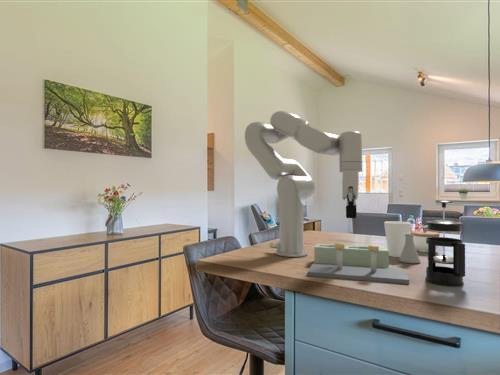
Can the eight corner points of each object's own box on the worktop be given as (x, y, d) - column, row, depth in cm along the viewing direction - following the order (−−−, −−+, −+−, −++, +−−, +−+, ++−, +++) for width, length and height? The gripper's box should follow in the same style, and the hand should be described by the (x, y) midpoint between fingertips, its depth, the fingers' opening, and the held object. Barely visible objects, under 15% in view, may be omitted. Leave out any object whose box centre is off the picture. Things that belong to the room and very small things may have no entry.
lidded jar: (445, 253, 133) (445, 230, 133) (418, 253, 134) (418, 230, 134) (430, 248, 144) (430, 227, 144) (406, 248, 144) (406, 227, 144)
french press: (416, 277, 98) (416, 200, 98) (443, 275, 100) (443, 199, 100) (447, 289, 87) (447, 201, 87) (477, 287, 88) (477, 201, 88)
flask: (423, 264, 115) (423, 235, 115) (401, 263, 116) (401, 235, 116) (417, 260, 122) (417, 232, 122) (396, 259, 123) (396, 232, 123)
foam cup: (414, 255, 129) (414, 222, 129) (406, 259, 123) (406, 224, 123) (389, 252, 136) (389, 220, 136) (380, 255, 129) (380, 222, 129)
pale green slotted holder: (314, 264, 115) (314, 246, 115) (316, 259, 122) (316, 243, 122) (388, 269, 108) (388, 251, 108) (387, 264, 114) (387, 247, 114)
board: (307, 275, 100) (307, 246, 100) (313, 266, 112) (313, 239, 112) (409, 284, 91) (409, 251, 91) (403, 272, 104) (403, 243, 104)
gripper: (340, 169, 124) (341, 214, 124) (338, 166, 108) (338, 218, 107) (361, 168, 122) (362, 215, 122) (362, 165, 105) (363, 219, 105)
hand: (351, 216), depth 115 cm, fingers open, 9 cm apart
